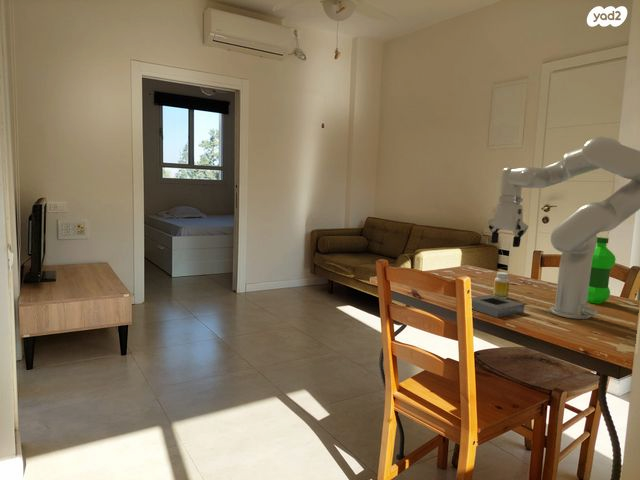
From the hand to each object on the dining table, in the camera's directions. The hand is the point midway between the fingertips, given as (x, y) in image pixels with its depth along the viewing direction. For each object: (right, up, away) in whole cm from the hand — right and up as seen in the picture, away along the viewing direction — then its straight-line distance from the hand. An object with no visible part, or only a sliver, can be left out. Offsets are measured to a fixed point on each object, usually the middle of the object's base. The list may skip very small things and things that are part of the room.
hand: (505, 244), depth 179 cm
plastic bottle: (+35, -22, +1) cm, 42 cm away
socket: (-10, -23, -16) cm, 30 cm away
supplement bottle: (-1, -21, +3) cm, 21 cm away
